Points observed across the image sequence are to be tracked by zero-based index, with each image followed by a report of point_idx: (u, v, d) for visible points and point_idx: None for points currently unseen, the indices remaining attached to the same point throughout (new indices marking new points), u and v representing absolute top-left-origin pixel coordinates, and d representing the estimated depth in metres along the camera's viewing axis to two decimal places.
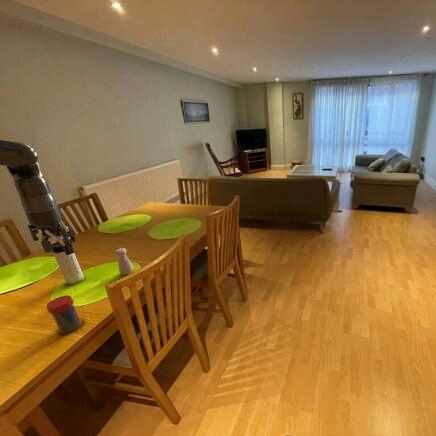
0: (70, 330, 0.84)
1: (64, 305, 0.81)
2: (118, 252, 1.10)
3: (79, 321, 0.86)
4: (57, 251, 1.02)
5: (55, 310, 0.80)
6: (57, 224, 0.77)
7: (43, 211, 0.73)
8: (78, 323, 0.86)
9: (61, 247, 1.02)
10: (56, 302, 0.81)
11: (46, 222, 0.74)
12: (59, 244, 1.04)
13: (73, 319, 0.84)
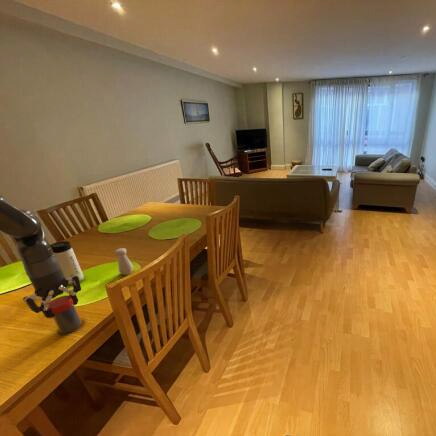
0: (70, 330, 0.84)
1: (64, 305, 0.81)
2: (118, 252, 1.10)
3: (79, 321, 0.86)
4: (57, 251, 1.02)
5: (55, 310, 0.80)
6: None
7: (59, 267, 0.79)
8: (78, 323, 0.86)
9: (61, 247, 1.02)
10: (56, 302, 0.81)
11: (63, 276, 0.80)
12: (59, 244, 1.04)
13: (73, 319, 0.84)
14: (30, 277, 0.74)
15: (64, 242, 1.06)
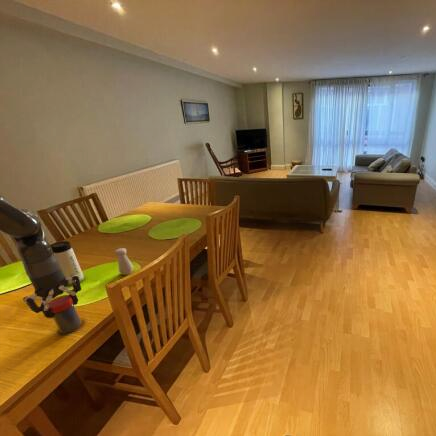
0: (70, 330, 0.84)
1: (71, 298, 0.84)
2: (118, 252, 1.10)
3: (79, 321, 0.86)
4: (57, 251, 1.02)
5: (68, 304, 0.82)
6: None
7: None
8: (78, 323, 0.86)
9: (61, 247, 1.02)
10: (58, 302, 0.81)
11: (64, 276, 0.80)
12: (59, 244, 1.04)
13: (73, 319, 0.84)
14: (30, 277, 0.74)
15: (64, 242, 1.06)
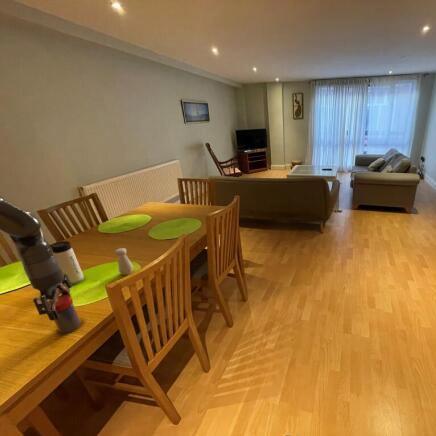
0: (72, 329, 0.84)
1: None
2: (118, 252, 1.10)
3: (79, 319, 0.87)
4: (57, 251, 1.02)
5: (70, 298, 0.85)
6: None
7: None
8: (79, 322, 0.87)
9: (61, 247, 1.02)
10: (60, 300, 0.82)
11: None
12: (59, 244, 1.04)
13: (74, 317, 0.85)
14: (39, 277, 0.73)
15: (64, 242, 1.06)
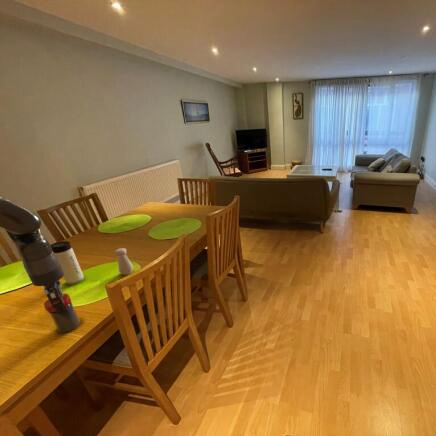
0: (72, 327, 0.85)
1: None
2: (118, 252, 1.10)
3: (78, 318, 0.88)
4: (57, 251, 1.02)
5: None
6: None
7: None
8: (78, 320, 0.87)
9: (61, 247, 1.02)
10: None
11: None
12: (59, 244, 1.04)
13: (74, 316, 0.85)
14: (46, 272, 0.75)
15: (64, 242, 1.06)
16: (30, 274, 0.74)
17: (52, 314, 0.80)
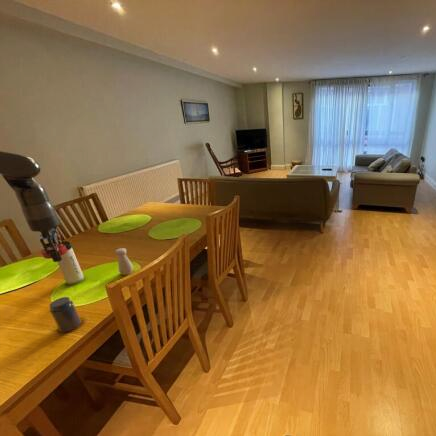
0: (73, 327, 0.85)
1: None
2: (118, 252, 1.10)
3: (79, 318, 0.88)
4: None
5: None
6: None
7: None
8: (79, 321, 0.87)
9: None
10: None
11: None
12: None
13: (75, 316, 0.85)
14: (41, 218, 0.80)
15: (64, 242, 1.06)
16: (27, 218, 0.79)
17: (52, 313, 0.81)
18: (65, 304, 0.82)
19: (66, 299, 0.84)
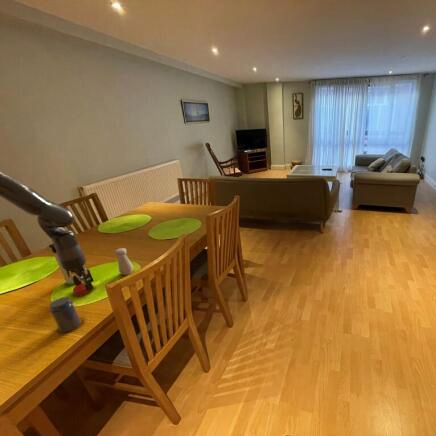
0: (73, 327, 0.85)
1: None
2: (118, 252, 1.10)
3: (79, 318, 0.88)
4: None
5: None
6: None
7: None
8: (79, 321, 0.87)
9: None
10: (84, 285, 1.04)
11: None
12: None
13: (75, 316, 0.85)
14: (78, 256, 0.97)
15: None
16: (65, 259, 0.95)
17: (52, 313, 0.81)
18: (65, 304, 0.82)
19: (66, 299, 0.84)
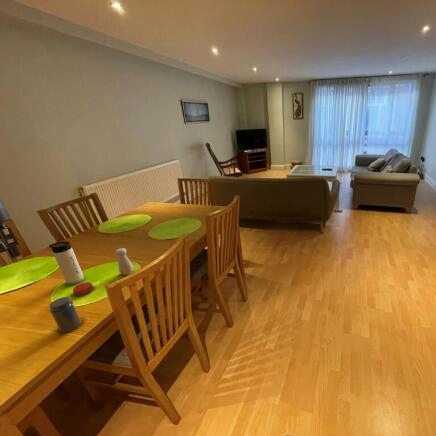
0: (73, 327, 0.85)
1: None
2: (118, 252, 1.10)
3: (79, 318, 0.88)
4: (57, 251, 1.02)
5: None
6: None
7: None
8: (79, 321, 0.87)
9: (61, 247, 1.02)
10: (84, 285, 1.04)
11: None
12: (59, 244, 1.04)
13: (75, 316, 0.85)
14: None
15: (64, 242, 1.06)
16: None
17: (52, 313, 0.81)
18: (65, 304, 0.82)
19: (66, 299, 0.84)
